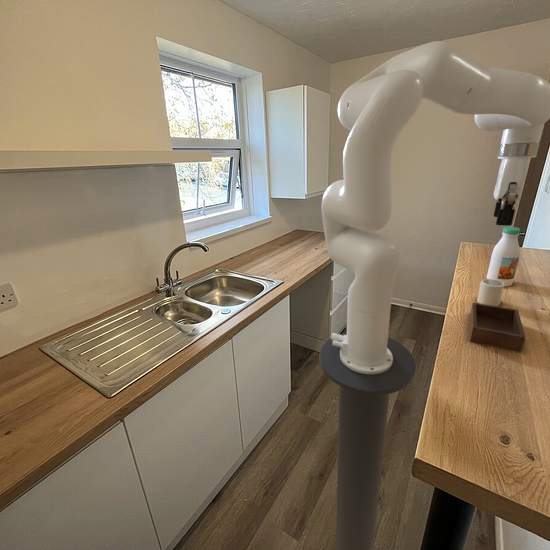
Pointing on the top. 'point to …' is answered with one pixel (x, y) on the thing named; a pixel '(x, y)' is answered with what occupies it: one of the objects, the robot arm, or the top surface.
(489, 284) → the cream pot
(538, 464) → the top surface
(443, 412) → the top surface
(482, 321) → the wooden box
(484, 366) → the top surface
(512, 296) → the top surface
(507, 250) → the milk bottle
